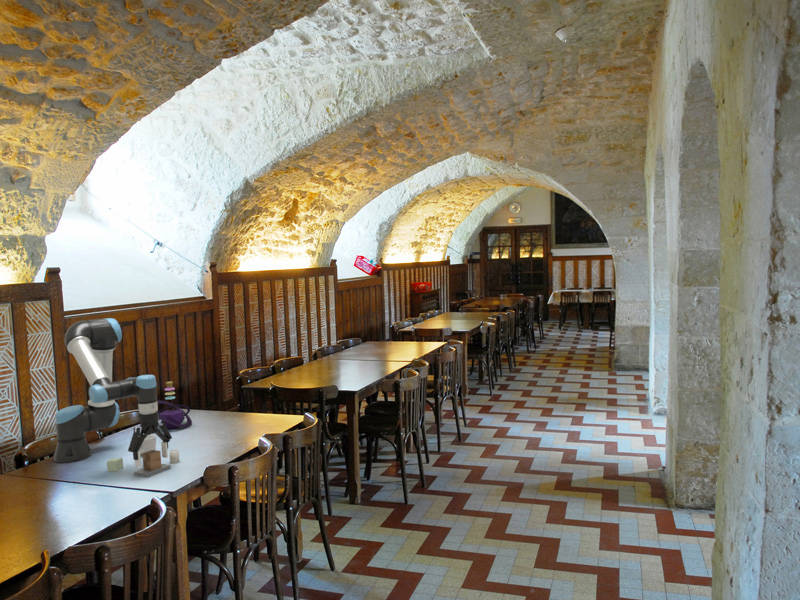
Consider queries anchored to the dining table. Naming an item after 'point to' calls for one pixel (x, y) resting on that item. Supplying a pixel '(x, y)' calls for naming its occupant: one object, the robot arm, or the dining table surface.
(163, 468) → the slate board
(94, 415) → the robot arm
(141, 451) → the cup
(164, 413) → the decorative bottle
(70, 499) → the dining table surface
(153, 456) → the walnut block
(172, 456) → the stone cylinder
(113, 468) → the sage cube
